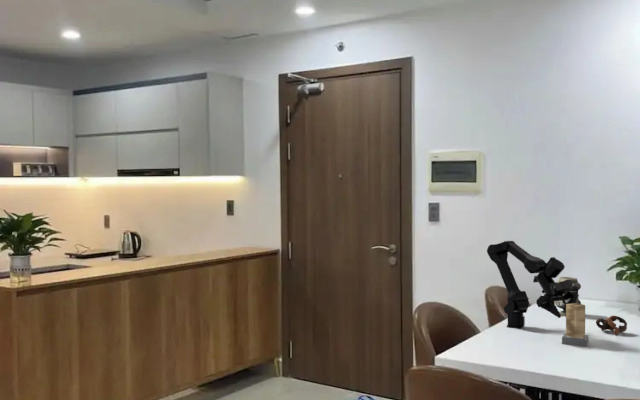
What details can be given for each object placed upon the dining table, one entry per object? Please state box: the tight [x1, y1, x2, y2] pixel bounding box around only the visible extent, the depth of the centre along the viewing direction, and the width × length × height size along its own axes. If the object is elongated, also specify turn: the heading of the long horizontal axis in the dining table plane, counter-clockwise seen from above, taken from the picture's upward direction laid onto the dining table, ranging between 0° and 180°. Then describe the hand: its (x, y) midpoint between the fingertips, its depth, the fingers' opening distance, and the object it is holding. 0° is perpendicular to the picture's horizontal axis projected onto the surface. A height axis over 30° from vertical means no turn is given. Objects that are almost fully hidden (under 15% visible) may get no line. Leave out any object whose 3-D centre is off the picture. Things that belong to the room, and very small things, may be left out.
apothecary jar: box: [554, 276, 582, 317], centre depth 317 cm, size 12×12×18 cm
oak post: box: [565, 303, 586, 338], centre depth 259 cm, size 5×5×12 cm
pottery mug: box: [595, 315, 628, 336], centre depth 276 cm, size 12×10×8 cm
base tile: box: [561, 332, 590, 347], centre depth 259 cm, size 9×9×3 cm
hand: (568, 316), depth 262 cm, fingers open, 9 cm apart
